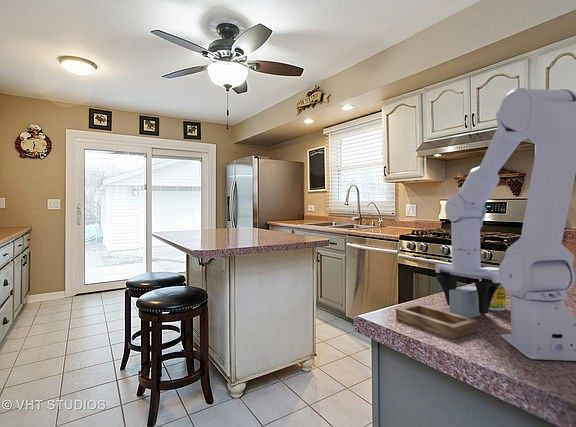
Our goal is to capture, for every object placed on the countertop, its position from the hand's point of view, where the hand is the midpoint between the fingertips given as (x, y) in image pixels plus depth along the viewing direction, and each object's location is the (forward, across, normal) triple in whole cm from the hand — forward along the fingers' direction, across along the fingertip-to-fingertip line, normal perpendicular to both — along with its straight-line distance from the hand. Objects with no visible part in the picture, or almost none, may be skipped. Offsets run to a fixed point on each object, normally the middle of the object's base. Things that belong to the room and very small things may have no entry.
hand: (466, 308), depth 74 cm
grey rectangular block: (+2, 0, 0) cm, 2 cm away
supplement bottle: (+2, 0, -10) cm, 10 cm away
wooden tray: (+1, 0, +11) cm, 11 cm away
